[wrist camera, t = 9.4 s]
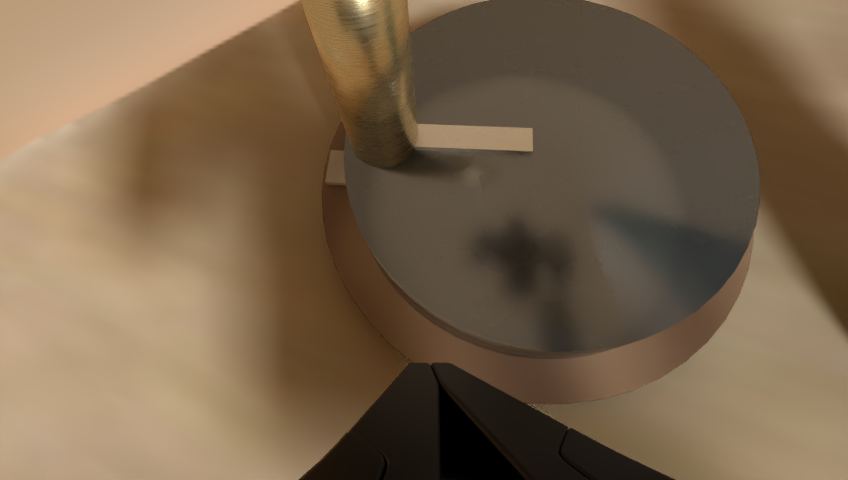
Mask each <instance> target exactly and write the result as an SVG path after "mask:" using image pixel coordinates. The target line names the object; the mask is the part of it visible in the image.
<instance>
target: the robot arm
mask: <svg viewBox="0 0 848 480" xmlns="http://www.w3.org/2000/svg"><path fill="white" fill-rule="evenodd" d="M299 480H675V479H673V478H671V477H668V476H666V475H664V474H662V473H660V472H658V471H655V470H653V469H651V468H649V467H647V466H645V465H643V464H641V463H639V462H637V461H635V460H632V459H630V458H628V457H626V456H624V455H622V454H620V453H618V452H616V451H614V450H612V449H610V448H608V447H606V446H604V445H602V444H600V443H598V442H597V441H595V440H593V439H591V438H589V437H587V436H585V435H583V434H582V433H580V432H578V431H576V430H574V429H572V428H570V429H569V428H568V427H567V426H565V425H563V424H562V423H560V422H558V421H556V420H554V419H552V418H551V417H549V416H547V415H545V414H543V413H541V412H540V411H538V410H536V409H534V408H532V407H530V406H529V405H527V404H525V403H523V402H521V401H519V400H518V399H516V398H514V397H512V396H510V395H508V394H506V393H505V392H503V391H501V390H499V389H497V388H495V387H494V386H492V385H490V384H488V383H486V382H485V381H483V380H481V379H479V378H477V377H475V376H474V375H472V374H470V373H468V372H466V371H464V370H463V369H461V368H459V367H457V366H455V365H453V364H452V363H432V364H431V365H430V364H429V363H410V364H409V365H408V366H407V367H406V368H405V369H404V370H403V371H402V372H401V373H400V375H399V376H398V377H397V378H396V379H395V380H394V381H393V382H392V384H391V385H390V386H389V387H388V388H387V389H386V390H385V391H384V392H383V394H382V395H381V396H380V397H379V398H378V399H377V400H376V401H375V403H374V404H373V405H372V406H371V407H370V408H369V409H368V410H367V411H366V413H365V414H364V415H363V416H362V417H361V418H360V419H359V420H358V422H357V423H356V424H355V425H354V426H353V427H352V428H351V429H350V430H349V432H347V433H346V434H345V435H344V436H343V437H342V438H341V439H340V441H339V442H338V443H337V444H336V445H335V446H334V447H333V448H332V449H331V450H330V451H329V452H328V453H327V454H326V455H325V456H324V457H323V458H322V459H321V460H320V461H319V462H318V463H317V464H316V465H315V466H313V467H312V468H311V469H310V470H309V471H308V472H307V473H306V474H304V475H303V476H302V477H301V478H300V479H299Z"/></svg>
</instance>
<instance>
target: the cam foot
mask: <svg viewBox="0 0 848 480" xmlns="http://www.w3.org/2000/svg"><path fill="white" fill-rule="evenodd" d="M300 1H301V4H302V7H303V9H304V12H305V15H306V18H307V21H308V24H309V27H310V30H311V32H312V35H313V38H314V41H315V44H316V47H317V50H318V53H319V55H320V58H321V61H322V64H323V67H324V70H325V73H326V76H327V79H328V81H329V84H330V87H331V90H332V93H333V96H334V99H335V102H336V104H337V107H338V110H339V113H340V116H341V119H342V122H343V125H344V127H345V130H346V136H345V147H344V173H345V183H346V188H347V192H348V197H349V201H350V205H351V208H352V211H353V213H354V216H355V218H356V221H357V224H358V226H359V229H360V231H361V233H362V235H363V237H364V240H365V242H366V244H367V246H368V248H369V251H370V252H371V254H372V256H373V258H374V260H375V261H376V263H377V265H378V267H379V269H380V270H381V272H382V273H383V275H384V276H385V277H386V279H387V280H388V281H389V283H390V284H391V285H392V287H393V288H394V289H395V291H396V292H397V293H398V294H399V295H400V296H401V297H402V298H403V299H404V300H405V301H406V302H407V303H408V304H409V305H410V306H411V307H412V308H413V309H415V310H416V311H417V312H419V313H420V314H421V315H422V316H424V317H425V318H426V319H428V320H429V321H430V322H432V323H433V324H434V325H436V326H438V327H439V328H441V329H443V330H445V331H446V332H448V333H450V334H452V335H453V336H455V337H457V338H459V339H461V340H464V341H466V342H469V343H471V344H473V345H476V346H478V347H481V348H484V349H487V350H491V351H495V352H498V353H502V354H506V355H510V356H517V357H525V358H532V359H568V358H575V357H583V356H590V355H594V354H598V353H601V352H605V351H608V350H612V349H615V348H619V347H622V346H625V345H628V344H631V343H634V342H637V341H640V340H643V339H645V338H648V337H650V336H652V335H654V334H657V333H659V332H661V331H664V330H666V329H668V328H670V327H673V326H674V325H676V324H677V323H679V322H680V321H682V320H684V319H685V318H687V317H688V316H690V315H691V314H693V313H694V312H696V311H697V310H699V309H700V308H701V307H702V306H703V305H704V304H705V303H706V302H708V301H709V300H710V299H711V298H712V297H713V296H714V295H715V294H716V293H718V292H719V290H720V289H721V288H722V287H723V285H724V284H725V283H726V282H727V280H728V279H729V278H730V277H731V275H732V274H733V273H734V272H735V270H736V268H737V266H738V265H739V263H740V261H741V259H742V257H743V256H744V254H745V252H746V250H747V248H748V246H749V243H750V240H751V237H752V234H753V231H754V229H755V226H756V221H757V215H758V209H759V203H760V172H759V166H758V159H757V153H756V149H755V146H754V143H753V140H752V136H751V133H750V130H749V128H748V126H747V123H746V121H745V119H744V117H743V115H742V113H741V111H740V109H739V107H738V105H737V104H736V102H735V101H734V99H733V98H732V96H731V94H730V93H729V91H728V90H727V88H726V87H725V86H724V84H723V83H722V82H721V81H720V80H719V78H718V77H717V76H716V75H715V74H714V73H713V71H712V70H711V69H710V68H709V67H708V66H707V65H706V64H705V63H704V62H703V61H702V60H701V59H700V58H698V57H697V56H696V55H695V54H694V53H693V52H692V51H691V50H689V49H688V48H687V47H685V46H684V45H683V44H681V43H680V42H679V41H677V40H676V39H675V38H673V37H672V36H670V35H668V34H667V33H665V32H664V31H662V30H660V29H659V28H657V27H655V26H654V25H652V24H650V23H647V22H645V21H643V20H641V19H639V18H637V17H635V16H633V15H630V14H628V13H625V12H622V11H619V10H617V9H614V8H611V7H608V6H604V5H600V4H597V3H593V2H589V1H584V0H489V1H484V2H480V3H476V4H472V5H469V6H466V7H463V8H460V9H457V10H454V11H451V12H449V13H447V14H445V15H443V16H441V17H438V18H436V19H434V20H432V21H430V22H429V23H427V24H425V25H424V26H422V27H420V28H419V29H417V30H415V31H414V32H413V33H411V34H410V25H409V13H408V1H407V0H300Z"/></svg>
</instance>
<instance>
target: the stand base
mask: <svg viewBox="0 0 848 480" xmlns="http://www.w3.org/2000/svg"><path fill="white" fill-rule="evenodd" d="M345 136H346V130H345V127H344V125H343V122H341V123H340V125H339V127H338V130H337V132H336V135H335V137H334V139H333V142H332V144H331V147H330V151H329V155H328V158H327V162H326V166H325V172H324V181H323V190H322V202H323V220H324V225H325V231H326V236H327V242H328V245H329V248H330V251H331V254H332V257H333V260H334V263H335V266H336V268H337V270H338V272H339V274H340V276H341V278H342V280H343V282H344V284H345V286H346V288H347V290H348V292H349V294H350V295H351V297H352V298H353V299H354V301H355V302H356V304H357V305H358V307H359V308H360V310H361V311H362V312H363V314H364V315H365V317H366V318H367V319H368V320H369V321H370V323H371V324H372V325H373V326H374V327H375V328H376V329H377V330H378V331H379V332H380V333H381V334H382V336H383V337H384V338H385V339H386V340H387V341H388V342H389V343H390V344H391V345H392V346H393V347H395V348H396V349H397V350H398V351H399V352H401V353H402V354H403V355H404V356H406V357H407V358H408V359H409V360H410V361H412V362H413V363H429V364H430V365H431V364H432V363H452V364H453V365H455V366H457V367H459V368H461V369H463V370H464V371H466V372H468V373H470V374H472V375H474V376H475V377H477V378H479V379H481V380H483V381H485V382H486V383H488V384H490V385H492V386H494V387H495V388H497V389H499V390H501V391H503V392H505V393H506V394H508V395H510V396H512V397H514V398H516V399H518V400H519V401H521V402H523V403H525V404H568V403H577V402H585V401H593V400H600V399H604V398H607V397H611V396H615V395H618V394H622V393H626V392H629V391H632V390H634V389H636V388H639V387H641V386H643V385H646V384H648V383H650V382H652V381H655V380H657V379H659V378H661V377H662V376H664V375H665V374H667V373H669V372H670V371H672V370H673V369H675V368H676V367H678V366H679V365H681V364H683V363H684V362H686V361H687V360H688V359H689V358H690V357H691V356H692V355H693V354H695V353H696V352H697V351H698V350H699V349H700V348H701V347H702V346H703V345H705V344H706V343H707V342H708V341H709V339H710V338H711V337H712V336H713V334H714V333H715V332H716V331H717V329H718V328H719V327H720V326H721V324H722V323H723V322H724V321H725V320H726V318H727V316H728V314H729V312H730V311H731V309H732V307H733V305H734V303H735V302H736V300H737V298H738V296H739V294H740V292H741V289H742V286H743V283H744V280H745V278H746V275H747V272H748V269H749V264H750V258H751V253H752V247H753V234H752V237H751V240H750V243H749V246H748V248H747V250H746V252H745V254H744V256H743V257H742V259H741V261H740V263H739V265H738V266H737V268H736V270H735V272H734V273H733V274H732V275H731V277H730V278H729V279H728V280H727V282H726V283H725V284H724V285H723V287H722V288H721V289H720V290H719V292H718V293H716V294H715V295H714V296H713V297H712V298H711V299H710V300H709V301H708V302H706V303H705V304H704V305H703V306H702V307H701V308H700V309H699V310H697V311H696V312H694V313H693V314H691V315H690V316H688V317H687V318H685V319H684V320H682V321H680V322H679V323H677V324H676V325H674V326H673V327H670V328H668V329H666V330H664V331H661V332H659V333H657V334H654V335H652V336H650V337H648V338H645V339H643V340H640V341H637V342H634V343H631V344H628V345H625V346H622V347H619V348H615V349H612V350H608V351H605V352H601V353H598V354H594V355H590V356H583V357H575V358H568V359H532V358H525V357H517V356H510V355H506V354H502V353H498V352H495V351H491V350H487V349H484V348H481V347H478V346H476V345H473V344H471V343H469V342H466V341H464V340H461V339H459V338H457V337H455V336H453V335H452V334H450V333H448V332H446V331H445V330H443V329H441V328H439V327H438V326H436V325H434V324H433V323H432V322H430V321H429V320H428V319H426V318H425V317H424V316H422V315H421V314H420V313H419V312H417V311H416V310H415V309H413V308H412V307H411V306H410V305H409V304H408V303H407V302H406V301H405V300H404V299H403V298H402V297H401V296H400V295H399V294H398V293H397V292H396V291H395V289H394V288H393V287H392V285H391V284H390V283H389V281H388V280H387V279H386V277H385V276H384V275H383V273H382V272H381V270H380V269H379V267H378V265H377V263H376V261H375V260H374V258H373V256H372V254H371V252H370V251H369V248H368V246H367V244H366V242H365V240H364V237H363V235H362V233H361V231H360V229H359V226H358V224H357V221H356V218H355V216H354V213H353V211H352V208H351V205H350V201H349V197H348V192H347V188H346V183H345V173H344V147H345ZM753 232H754V231H753Z"/></svg>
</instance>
